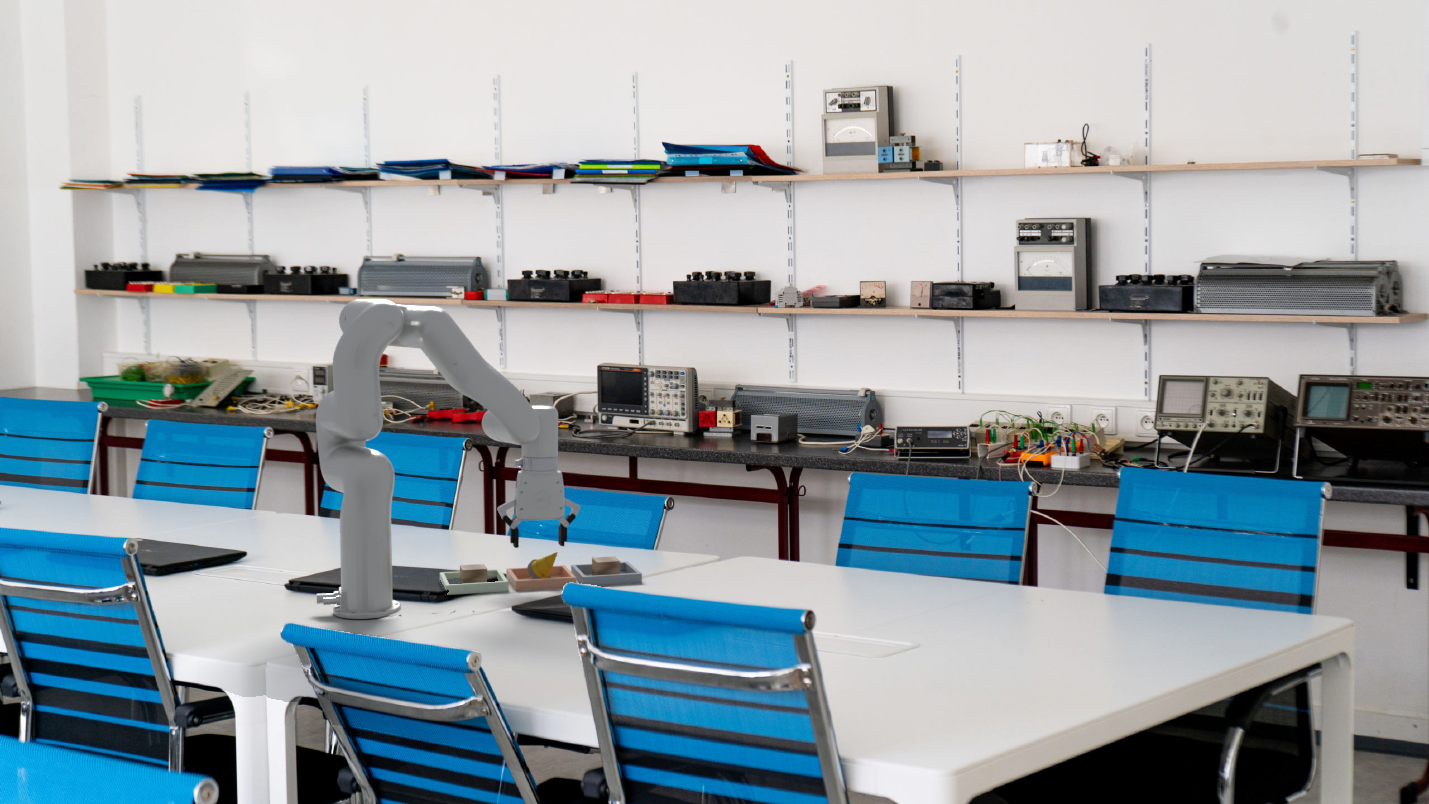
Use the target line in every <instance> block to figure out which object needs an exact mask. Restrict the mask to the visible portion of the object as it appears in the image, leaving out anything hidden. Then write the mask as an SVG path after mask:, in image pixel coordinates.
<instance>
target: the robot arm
mask: <svg viewBox="0 0 1429 804" xmlns="http://www.w3.org/2000/svg"><path fill="white" fill-rule="evenodd" d="M338 320H339V321H338V324H339V327H340V330H341V331H342V335H341V336H340V338H339V339H338V341H337V344H336V346H335V350H334V352H333V357H332V383H333V384H332V386H333V390H332V391H330V392H328V393H327V394H326V395H324V396H323V397H322V398H321V400H320V402H319V404H318V406H317V409H316V414H315V430H316V439H317V451H318V458H319V468H320V471H321V475H322V478H323V480H324V482H325V484H326V485H328V486H329V487H330V488H331V489H332V490H335V491H337V492H340V493H342V494H343V497H342V502H341V507H340V513H339V543H340V544H339V546H340V547H339V548H340V551H339V552H340V586H339V587H338V590H334V591H333V593H326V592H322V593H316V604H317V605H318V604H320V605H321V604H322V605H323V606H330V605H334V606H333V608H332V610H333V611H332V614H333V615H334V616H336V617H338V618H342V619H349V620H370V619H378V618H379V619H380V618H385V617H388V616H391V614H394V613H396V612H398V611H400V610H401V609H402V604H401V603H400V602H399V601H398V600H395V599H393V558H392V557H393V555H392V554H393V553H392V552H393V550H392V549H393V545H392V543H393V542H392V503H393V494H394V488H395V479H396V477H395V476H396V475H395V470H394V466H393V464H392V461H390V459H389V457H387V456H386V454H384V453H382V452H380V451H379V450H376V449H373V448H369V447H366V445H367V444H366V442H368V441H371V440H373V439H375V438H376V437H378V435H379V434H380V432H381V431H382V429H383V425H384V424H383V423H384V411H383V403H382V395H381V394H382V392H381V382H380V365H381V364H380V363H381V359H382V357H383V354H384V352H385V351H386V349H387V348H388V346H389V347H395V348H396V347H397V348H400V347H401V348H410V349H411V348H414V349H420V350H421V351H422V352H423V354H424V355H425V356H426V357H427V358H428V359H429V361H430V362H431V363H432V365H433V366H434V367H435V368H436V370H437V371H438V372H439V374H440V375H441V376H442V377H443V378H444V380H445V381H446V382H447V383H448V385H449V386H451V387H452V388H453V389H454V390H455V391H457V392H458V393H460V394H461V395H463V396H465V397H467V398H470V399H471V400H473V401H475V402H477V403H478V404H479V405H481V406H482V407H483V408H484V409H486V412H485V413H484V414H483V417H482V420H481V427H482V430H483V432H484V434H485V435H486V436H487V437H488V438H490V439H492V441H496V442H500V443H505V444H513V445H517V446H518V445H519V446H521V456H520V458H519V459H514V463H513V464H514V467H518V468H520V469H521V470H518V472H517V477H516V482H515V490H514V498H511V499H510V500H508V501H506V502H505V503H503V504H501V505H499V506H497V507H496V508H497V511H498V513H499V515H500V516H499V517H501V520H502V521H504V523H505V524H506V525H507V526H509V528H510V530H509V532H510V535H509V537H510V538H509V540H510V544H512V546H513V547H514V548H515V549H518V548H519V547H520V545H519V542H520V541H519V540H520V539H519V538H520V535H519V534H520V530H519V528H518V526H519V525H520V523H521V522H522V521H549V520H550V521H551V520H557V521H558V522H559V523H560V524H559V525H558V539H557V541H558V545H559V546H561V547H565V542H568V527H569V526H570V524H572V522H573V521H574V520H575V519H576V517H577V515H578V514H579V511H580V509H581V506H580V505H579V504H577V503H576V502H574V501H571V500H570V499H568V498H566V497H565V488H564V479H563V478H564V477H563V473H562V471H561V470H559V469H558V463H559V462H558V461H559V460H558V458H559V455H558V453H559V412H558V409H557V408H556V407H554V406H552V405H544V404H543V405H540V404H538V405H531V403H530V402H529V401H528V399H527V398H526V397H525V396H524V394H523V393H522V392H521V391H520V390H519V389H518V388H517V387H516V386H515V385H514V384H513V383H512V382H511V381H510V380H508V379H507V377H505V376H504V375H503V374H501V372H500V371H498V370H497V369H496V368H495V367H494V366H493V365H491V364H490V363H489V362H487V361H486V359H485V358H484V357H483V356H482V355H481V354H480V352H479V351H478V349H476V347H475V346H474V344H472V342H471V341H470V340H469V337H467V336H466V334H465V333H464V332H463V330H462V329H461V328H460V327H459V326H458V323H457V322H456V321H455V320H454V319H453V318H452V316H451V315H450V313H448V312H447V311H446V310H444V309H443V308H441V307H438V306H431V305H430V306H428V305H409V304H408V305H405V304H397V303H395V302H393V301H392V300H389V299H384V298H383V299H382V298H357V299H354V300H351V301H349V302H348V303H347V304H345V305H344V307H343V308H342V309H341V311H340V314H339V317H338ZM565 507H569V508H570V509H571V510H570V513H569V514H567V516H566V517H564V516H565V511H566V508H565ZM511 508H513V511H514V516H513V517H512V518H511V517H509V516H508V514H507V510H510V509H511Z"/></svg>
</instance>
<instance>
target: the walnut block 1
mask: <svg viewBox="0 0 1429 804" xmlns="http://www.w3.org/2000/svg"><path fill="white" fill-rule="evenodd" d="M487 570H488V568H487V566H486V564H485V563H479V564H478V563H477V564H476V563H475V564H461V565H459V571H460V582H461V583H462V584H464V583H480V582H487Z"/></svg>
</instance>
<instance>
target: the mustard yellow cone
mask: <svg viewBox="0 0 1429 804" xmlns="http://www.w3.org/2000/svg"><path fill="white" fill-rule="evenodd" d="M557 556H558V552H557V551H556V552H554V553H552V554H548V555H546V556H544V557H542V558H539V559H532V560H531V561H530V562H529V563H528V564H527V569H528V572H529V574H530V576H531V579H546V578H551V570H552V567H553V566H554V563H555V561H556V557H557Z"/></svg>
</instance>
